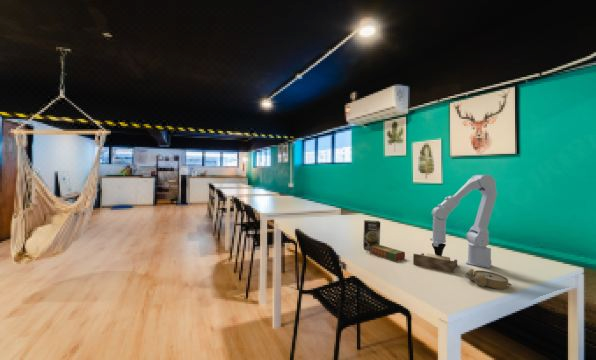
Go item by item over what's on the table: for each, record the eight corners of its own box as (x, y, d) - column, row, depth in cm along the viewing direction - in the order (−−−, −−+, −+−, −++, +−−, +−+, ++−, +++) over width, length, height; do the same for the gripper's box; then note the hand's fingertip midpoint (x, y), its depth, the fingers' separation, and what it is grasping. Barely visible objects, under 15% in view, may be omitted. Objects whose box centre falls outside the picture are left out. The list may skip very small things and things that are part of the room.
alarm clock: (516, 283, 101) (475, 274, 102) (513, 295, 101) (472, 286, 102) (497, 272, 112) (460, 264, 113) (494, 283, 112) (458, 275, 114)
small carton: (450, 265, 129) (450, 257, 129) (446, 270, 123) (446, 261, 123) (427, 261, 135) (427, 253, 135) (423, 265, 129) (423, 256, 129)
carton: (380, 251, 151) (380, 244, 151) (405, 259, 137) (405, 251, 137) (370, 253, 146) (370, 246, 146) (395, 262, 133) (395, 253, 133)
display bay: (458, 265, 129) (458, 254, 128) (453, 272, 118) (453, 261, 118) (421, 257, 139) (421, 248, 139) (413, 264, 129) (413, 253, 129)
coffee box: (363, 249, 154) (364, 221, 154) (362, 246, 161) (363, 219, 160) (380, 250, 153) (380, 222, 152) (378, 247, 159) (379, 220, 159)
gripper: (434, 227, 141) (433, 253, 141) (426, 232, 130) (426, 259, 130) (449, 229, 137) (448, 256, 137) (442, 234, 125) (442, 262, 126)
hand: (438, 258), depth 133 cm, fingers closed
